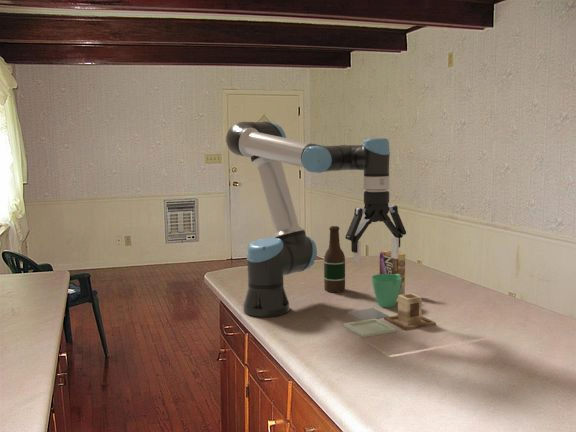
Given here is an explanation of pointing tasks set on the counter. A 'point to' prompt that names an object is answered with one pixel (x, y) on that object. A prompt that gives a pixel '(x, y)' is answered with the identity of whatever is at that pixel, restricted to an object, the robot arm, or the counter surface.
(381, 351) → the counter surface
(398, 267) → the candy box
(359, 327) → the tray sage
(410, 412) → the counter surface
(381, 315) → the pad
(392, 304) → the mug
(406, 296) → the letter block
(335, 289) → the beer bottle
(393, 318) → the tray walnut
